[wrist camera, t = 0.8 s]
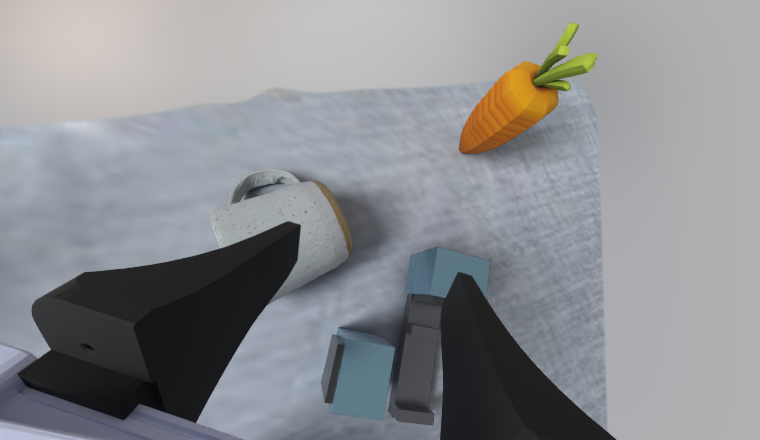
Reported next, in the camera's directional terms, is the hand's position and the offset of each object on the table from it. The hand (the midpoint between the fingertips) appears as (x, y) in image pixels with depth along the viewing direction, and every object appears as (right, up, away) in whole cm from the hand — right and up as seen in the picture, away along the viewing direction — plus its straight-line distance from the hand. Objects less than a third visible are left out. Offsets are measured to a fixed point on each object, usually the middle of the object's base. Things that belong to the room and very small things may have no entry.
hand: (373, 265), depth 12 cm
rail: (+4, -8, +13) cm, 16 cm away
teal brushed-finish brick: (-2, -10, +12) cm, 15 cm away
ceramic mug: (-9, +1, +13) cm, 15 cm away
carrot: (+9, +10, +19) cm, 24 cm away
